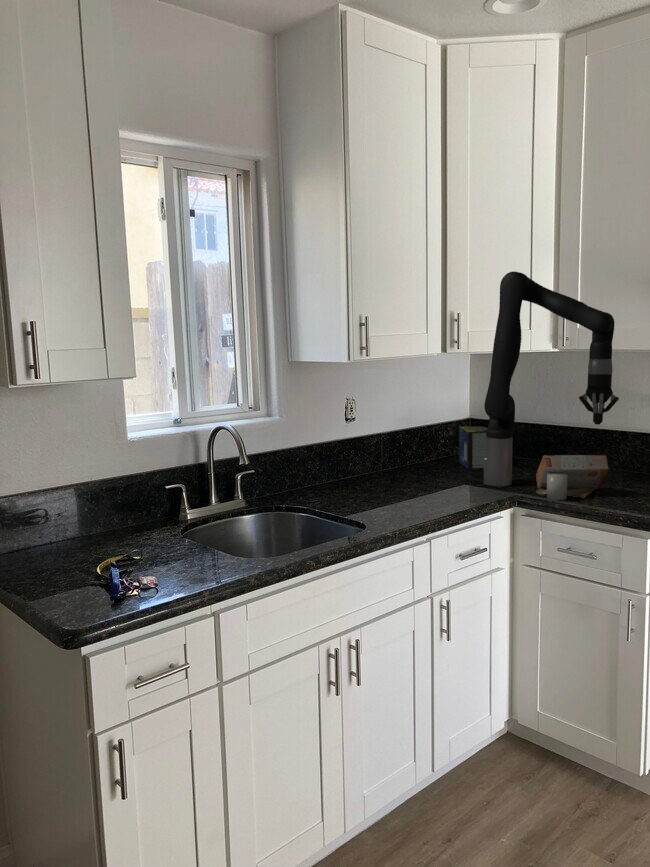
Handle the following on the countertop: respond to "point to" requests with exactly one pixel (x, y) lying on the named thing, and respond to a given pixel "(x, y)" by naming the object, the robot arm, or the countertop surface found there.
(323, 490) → the countertop surface
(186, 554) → the countertop surface
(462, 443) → the protein box
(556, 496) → the white rounded dome
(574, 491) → the maple board
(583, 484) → the cracker box
